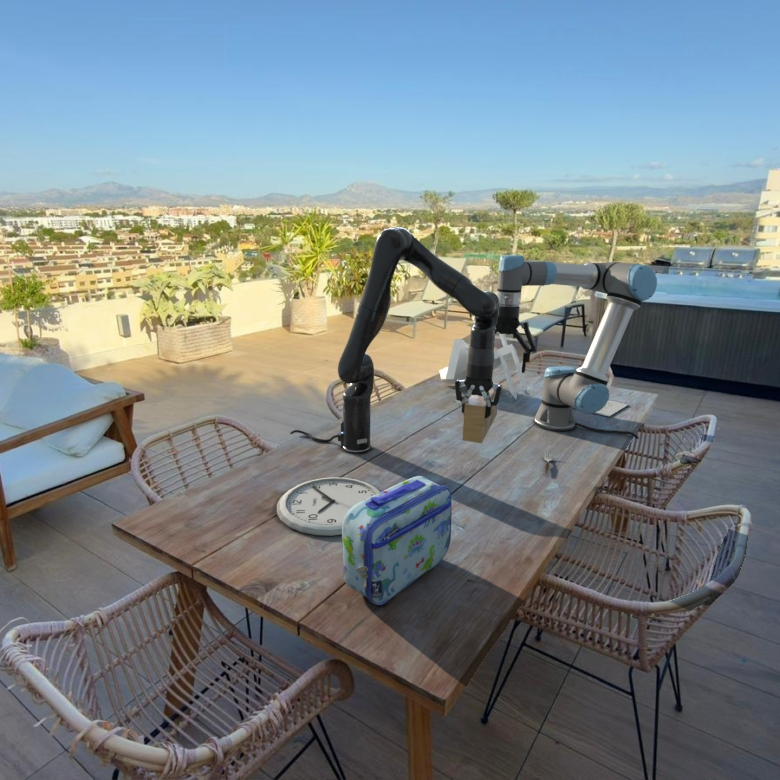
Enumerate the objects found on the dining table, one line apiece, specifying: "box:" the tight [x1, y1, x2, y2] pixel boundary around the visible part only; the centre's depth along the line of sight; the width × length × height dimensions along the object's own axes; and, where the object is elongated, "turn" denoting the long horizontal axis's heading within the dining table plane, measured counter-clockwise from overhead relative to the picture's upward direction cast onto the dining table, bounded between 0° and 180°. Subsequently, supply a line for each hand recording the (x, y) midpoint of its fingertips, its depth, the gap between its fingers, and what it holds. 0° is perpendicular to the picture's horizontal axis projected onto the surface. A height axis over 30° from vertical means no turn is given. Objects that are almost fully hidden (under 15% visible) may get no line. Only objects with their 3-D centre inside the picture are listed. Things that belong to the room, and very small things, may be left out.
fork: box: [544, 449, 554, 474], centre depth 169 cm, size 3×16×2 cm, turn 160°
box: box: [462, 381, 501, 444], centre depth 166 cm, size 27×6×12 cm, turn 160°
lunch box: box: [341, 475, 453, 606], centre depth 111 cm, size 26×11×21 cm, turn 134°
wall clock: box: [276, 476, 382, 537], centre depth 142 cm, size 30×2×30 cm
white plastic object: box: [438, 332, 531, 400], centre depth 245 cm, size 37×45×31 cm
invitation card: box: [595, 399, 629, 418], centre depth 226 cm, size 21×1×15 cm
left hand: (476, 415), depth 156 cm, fingers closed on box, 6 cm apart
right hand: (502, 369), depth 173 cm, fingers open, 13 cm apart
